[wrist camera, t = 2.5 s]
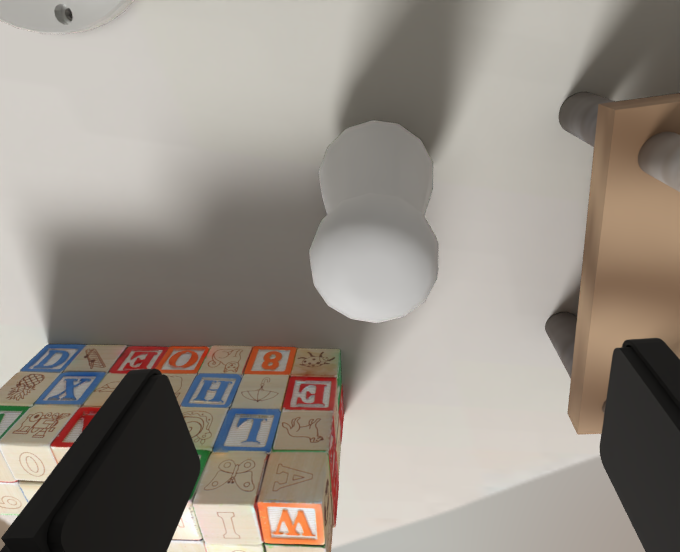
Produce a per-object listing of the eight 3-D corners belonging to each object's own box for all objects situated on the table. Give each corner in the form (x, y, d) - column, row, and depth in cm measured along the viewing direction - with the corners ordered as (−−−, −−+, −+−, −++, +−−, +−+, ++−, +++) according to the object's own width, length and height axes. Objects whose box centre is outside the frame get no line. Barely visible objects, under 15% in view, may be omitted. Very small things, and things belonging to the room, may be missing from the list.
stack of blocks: (73, 407, 37) (-55, 565, 26) (47, 341, 34) (-109, 488, 23) (346, 414, 35) (330, 588, 24) (343, 346, 32) (323, 508, 21)
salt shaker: (342, 227, 28) (315, 367, 17) (309, 132, 26) (250, 220, 14) (440, 199, 27) (483, 330, 15) (415, 97, 24) (444, 162, 13)
